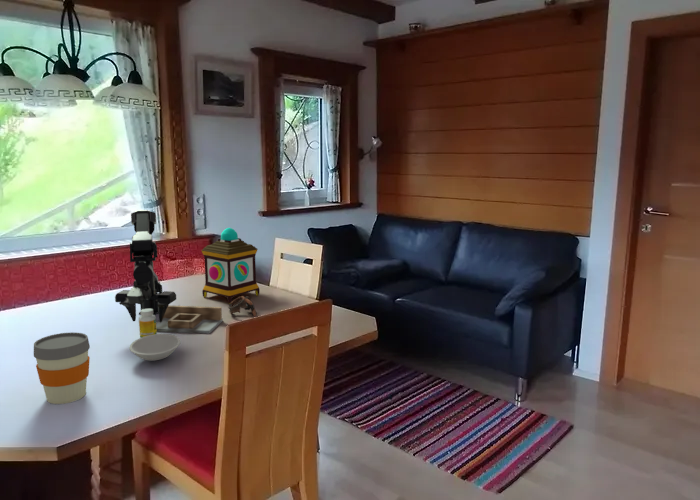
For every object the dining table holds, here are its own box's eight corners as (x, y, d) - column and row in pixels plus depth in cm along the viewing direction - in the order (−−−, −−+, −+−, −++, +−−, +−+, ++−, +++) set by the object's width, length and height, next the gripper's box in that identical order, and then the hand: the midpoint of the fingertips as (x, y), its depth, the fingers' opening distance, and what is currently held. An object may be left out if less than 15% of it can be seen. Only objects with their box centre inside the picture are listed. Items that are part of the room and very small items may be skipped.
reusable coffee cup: (66, 382, 146) (61, 330, 143) (104, 389, 142) (99, 334, 140) (26, 403, 134) (20, 346, 131) (67, 410, 130) (61, 352, 128)
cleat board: (148, 331, 187) (147, 316, 186) (165, 318, 201) (164, 304, 200) (209, 333, 185) (208, 318, 184) (222, 320, 199) (222, 306, 198)
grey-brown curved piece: (255, 320, 202) (243, 303, 199) (234, 329, 204) (222, 312, 201) (262, 303, 213) (251, 287, 210) (242, 312, 215) (231, 296, 212)
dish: (178, 369, 156) (177, 352, 155) (125, 372, 153) (124, 356, 152) (183, 347, 172) (183, 332, 172) (136, 350, 170) (135, 335, 169)
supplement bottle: (139, 336, 182) (137, 308, 181) (156, 333, 185) (154, 306, 183) (140, 341, 178) (138, 313, 176) (157, 338, 180) (156, 311, 178)
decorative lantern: (233, 288, 246) (231, 223, 240) (264, 295, 234) (262, 227, 229) (197, 297, 230) (194, 228, 224) (229, 305, 218) (226, 232, 213)
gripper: (104, 281, 170) (108, 328, 173) (161, 283, 169) (164, 330, 172) (122, 273, 181) (125, 317, 184) (175, 274, 180) (178, 319, 182)
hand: (147, 321), depth 180 cm, fingers open, 9 cm apart
